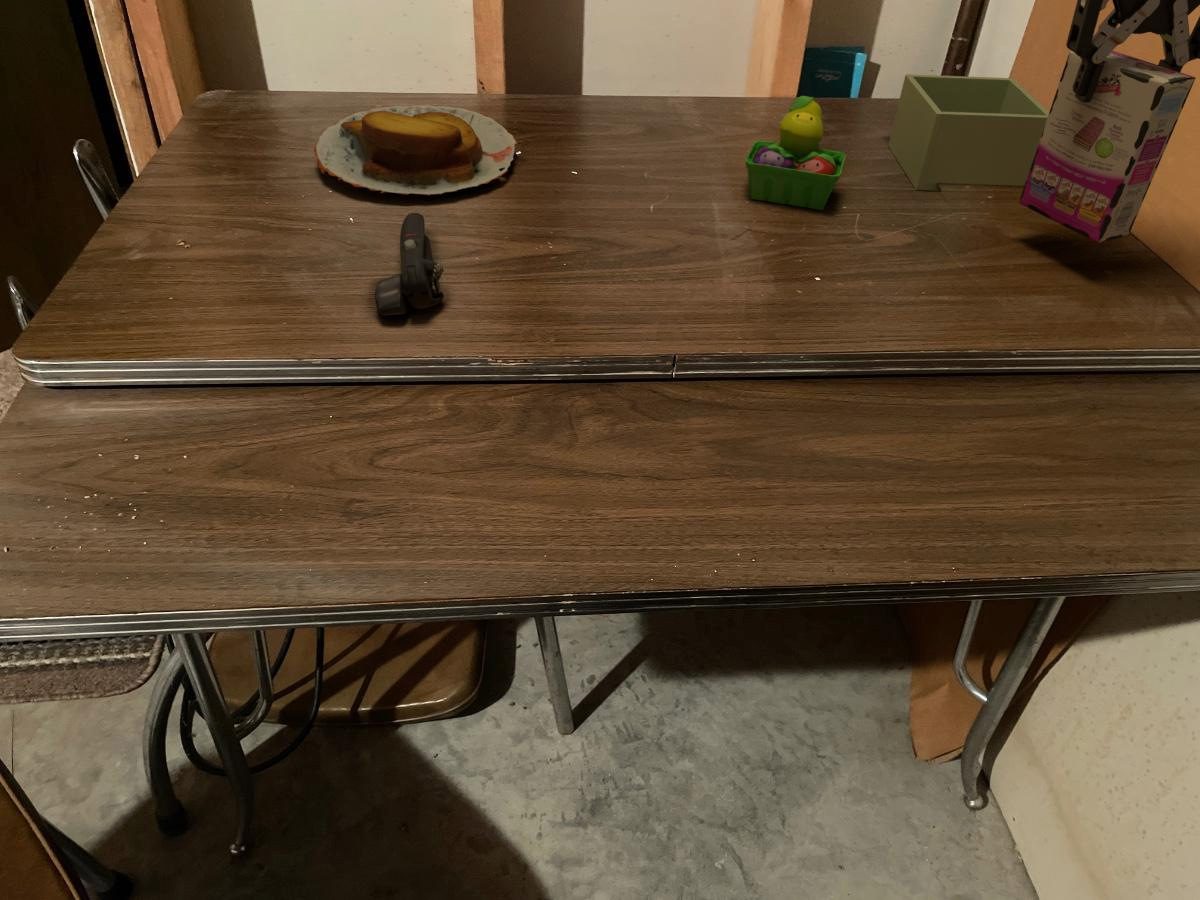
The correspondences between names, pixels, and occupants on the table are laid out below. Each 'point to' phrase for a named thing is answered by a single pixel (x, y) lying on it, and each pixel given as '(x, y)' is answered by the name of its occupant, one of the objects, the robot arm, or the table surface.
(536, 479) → the table surface
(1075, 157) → the candy bar box
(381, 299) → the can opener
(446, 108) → the food on plate
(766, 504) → the table surface
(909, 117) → the waste bin
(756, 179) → the fruit basket
